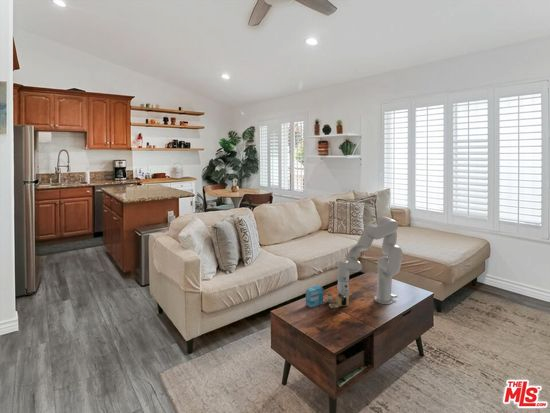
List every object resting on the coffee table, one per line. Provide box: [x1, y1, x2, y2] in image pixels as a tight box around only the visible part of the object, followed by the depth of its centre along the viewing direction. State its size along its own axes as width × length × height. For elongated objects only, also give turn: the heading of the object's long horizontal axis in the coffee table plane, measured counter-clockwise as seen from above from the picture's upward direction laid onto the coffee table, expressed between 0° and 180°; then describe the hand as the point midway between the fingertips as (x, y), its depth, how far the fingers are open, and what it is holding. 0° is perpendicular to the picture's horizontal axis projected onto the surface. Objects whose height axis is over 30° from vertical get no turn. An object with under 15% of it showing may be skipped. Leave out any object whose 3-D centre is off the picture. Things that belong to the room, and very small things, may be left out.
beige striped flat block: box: [328, 303, 339, 309], centre depth 228 cm, size 5×4×1 cm
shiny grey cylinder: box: [327, 293, 332, 304], centre depth 234 cm, size 2×2×6 cm
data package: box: [305, 285, 324, 309], centre depth 230 cm, size 12×4×12 cm, turn 124°
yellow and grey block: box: [335, 294, 350, 307], centre depth 231 cm, size 7×5×6 cm, turn 101°
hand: (342, 302), depth 232 cm, fingers open, 5 cm apart
